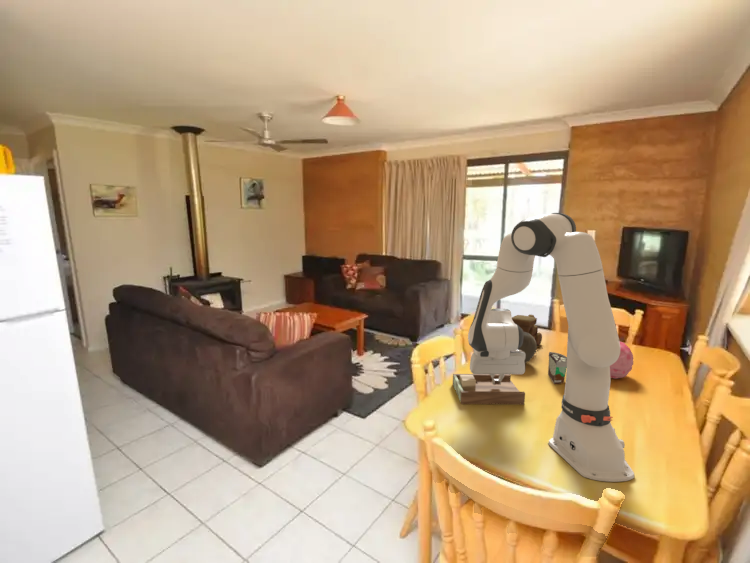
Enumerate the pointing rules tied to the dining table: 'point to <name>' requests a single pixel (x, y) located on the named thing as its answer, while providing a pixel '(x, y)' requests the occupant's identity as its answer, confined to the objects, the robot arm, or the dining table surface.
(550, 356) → the food container
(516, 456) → the dining table surface
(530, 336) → the dark brown round ball
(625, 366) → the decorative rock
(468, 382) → the beech block
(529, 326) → the wooden toy train
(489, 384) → the box
